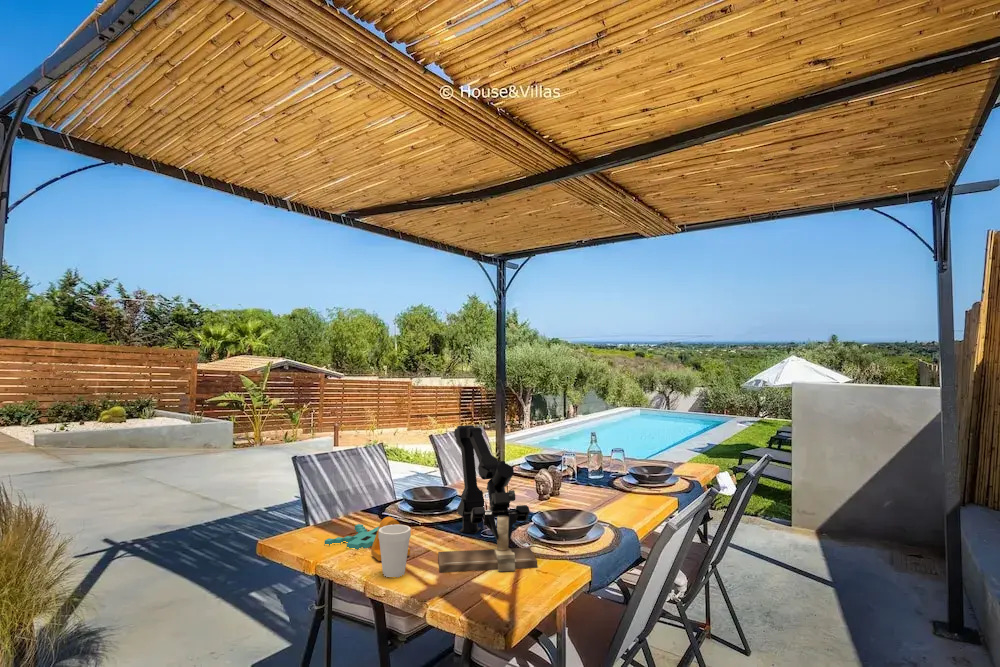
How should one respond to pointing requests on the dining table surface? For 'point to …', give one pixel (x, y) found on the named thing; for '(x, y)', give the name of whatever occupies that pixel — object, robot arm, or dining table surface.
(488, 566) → the walnut board
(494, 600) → the dining table surface
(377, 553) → the bracket
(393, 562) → the foam cup
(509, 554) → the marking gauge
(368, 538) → the alien figure
